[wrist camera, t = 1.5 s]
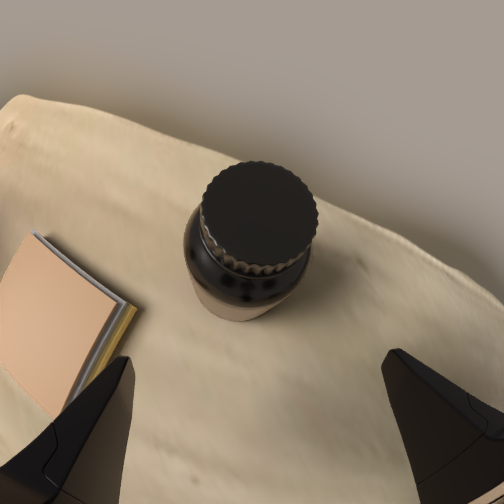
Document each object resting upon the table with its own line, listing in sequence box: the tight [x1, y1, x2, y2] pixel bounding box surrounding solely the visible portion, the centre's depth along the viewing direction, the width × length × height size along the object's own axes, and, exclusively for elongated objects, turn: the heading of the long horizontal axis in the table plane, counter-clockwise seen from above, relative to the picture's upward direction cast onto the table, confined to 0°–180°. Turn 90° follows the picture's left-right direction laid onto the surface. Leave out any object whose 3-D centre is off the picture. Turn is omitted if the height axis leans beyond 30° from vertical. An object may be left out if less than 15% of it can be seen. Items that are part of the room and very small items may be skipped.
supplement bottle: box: [183, 161, 319, 321], centre depth 16 cm, size 7×7×12 cm
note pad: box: [0, 228, 137, 419], centre depth 17 cm, size 12×12×3 cm
